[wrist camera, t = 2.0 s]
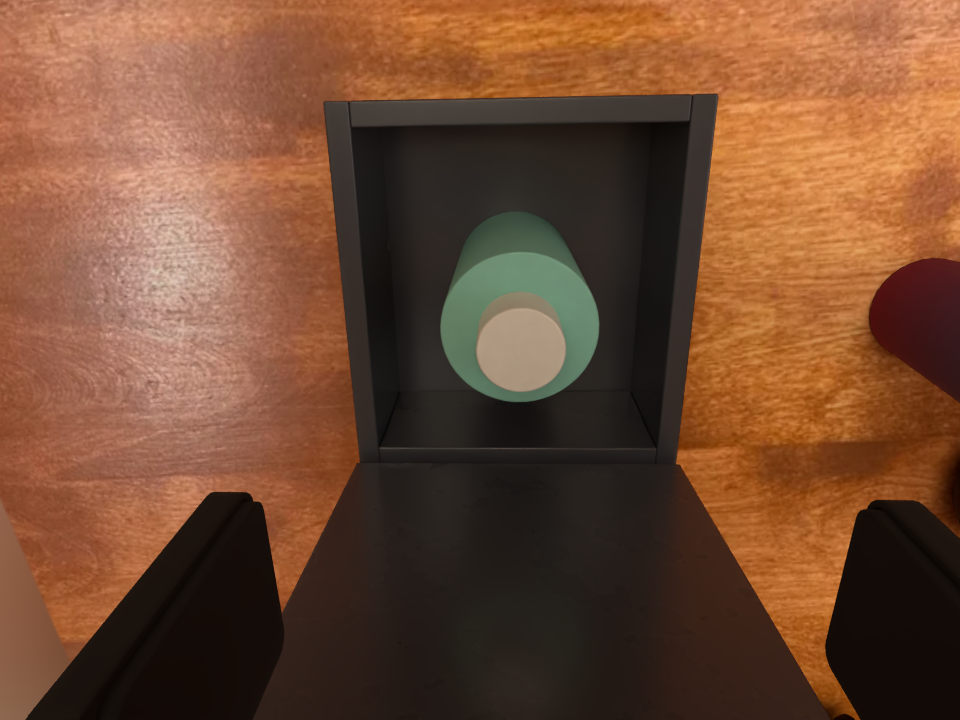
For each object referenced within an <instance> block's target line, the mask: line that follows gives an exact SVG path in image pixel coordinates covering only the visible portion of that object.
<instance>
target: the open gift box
mask: <svg viewBox="0 0 960 720" xmlns="http://www.w3.org/2000/svg"><path fill="white" fill-rule="evenodd" d="M323 104H324V114H325V123H326V133H327V143H328V153H329V163H330V173H331V182H332V192H333V202H334V212H335V222H336V232H337V241H338V251H339V261H340V271H341V281H342V291H343V300H344V310H345V320H346V330H347V340H348V350H349V359H350V369H351V379H352V389H353V399H354V409H355V418H356V428H357V438H358V448H359V458H360V463H472V464H676V459H677V451H678V442H679V433H680V425H681V416H682V407H683V399H684V390H685V381H686V373H687V364H688V355H689V347H690V338H691V329H692V321H693V312H694V303H695V295H696V286H697V277H698V269H699V260H700V251H701V243H702V234H703V225H704V217H705V208H706V199H707V191H708V182H709V173H710V165H711V156H712V147H713V139H714V130H715V121H716V113H717V104H718V94H670V95H619V96H568V97H517V98H466V99H414V100H363V101H325V102H324V103H323ZM506 212H526V213H530V214H534V215H536V216H539V217H541V218H543V219H544V220H546V221H548V222H549V223H550V224H552V225H553V226H554V227H555V228H556V229H557V230H558V231H559V233H560V234H561V235H562V237H563V239H564V240H565V242H566V244H567V246H568V248H569V250H570V252H571V254H572V256H573V258H574V260H575V262H576V264H577V266H578V268H579V270H580V272H581V274H582V276H583V277H584V279H585V281H586V283H587V285H588V287H589V289H590V291H591V293H592V295H593V298H594V300H595V303H596V306H597V310H598V316H599V336H598V341H597V345H596V348H595V351H594V354H593V356H592V358H591V360H590V362H589V364H588V365H587V367H586V368H585V370H584V371H583V372H582V373H581V374H580V376H579V377H578V378H577V379H576V380H575V381H573V382H572V383H571V384H570V385H569V386H567V387H566V388H564V389H563V390H561V391H559V392H557V393H556V394H554V395H551V396H549V397H546V398H543V399H539V400H535V401H528V402H510V401H503V400H499V399H495V398H492V397H489V396H487V395H485V394H483V393H481V392H479V391H477V390H475V389H474V388H472V387H471V386H469V385H468V384H467V383H466V382H465V381H464V380H463V379H462V378H461V377H460V376H459V375H458V374H457V373H456V372H455V370H454V369H453V367H452V366H451V364H450V362H449V360H448V358H447V356H446V354H445V351H444V348H443V345H442V340H441V330H440V324H441V315H442V310H443V306H444V303H445V300H446V297H447V294H448V291H449V288H450V285H451V282H452V279H453V276H454V273H455V270H456V267H457V264H458V260H459V257H460V254H461V251H462V249H463V246H464V244H465V242H466V240H467V238H468V237H469V235H470V234H471V233H472V232H473V230H474V229H475V228H476V227H477V226H479V225H480V224H481V223H482V222H484V221H485V220H487V219H489V218H491V217H493V216H495V215H498V214H501V213H506Z"/></svg>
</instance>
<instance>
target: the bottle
mask: <svg viewBox="0 0 960 720" xmlns="http://www.w3.org/2000/svg"><path fill="white" fill-rule="evenodd" d="M440 330H441V340H442V345H443V348H444V351H445V354H446V356H447V358H448V360H449V362H450V364H451V366H452V367H453V369H454V370H455V372H456V373H457V374H458V375H459V376H460V377H461V378H462V379H463V380H464V381H465V382H466V383H467V384H468V385H469V386H471V387H472V388H474V389H475V390H477V391H479V392H481V393H483V394H485V395H487V396H489V397H492V398H495V399H499V400H503V401H510V402H528V401H535V400H539V399H543V398H546V397H549V396H551V395H554V394H556V393H557V392H559V391H561V390H563V389H564V388H566V387H567V386H569V385H570V384H571V383H572V382H573V381H575V380H576V379H577V378H578V377H579V376H580V374H581V373H582V372H583V371H584V370H585V368H586V367H587V365H588V364H589V362H590V360H591V358H592V356H593V354H594V351H595V348H596V345H597V341H598V336H599V316H598V310H597V306H596V303H595V300H594V298H593V295H592V293H591V291H590V289H589V287H588V285H587V283H586V281H585V279H584V277H583V276H582V274H581V272H580V270H579V268H578V266H577V264H576V262H575V260H574V258H573V256H572V254H571V252H570V250H569V248H568V246H567V244H566V242H565V240H564V239H563V237H562V235H561V234H560V233H559V231H558V230H557V229H556V228H555V227H554V226H553V225H552V224H550V223H549V222H548V221H546V220H544V219H543V218H541V217H539V216H536V215H534V214H530V213H526V212H506V213H501V214H498V215H495V216H493V217H491V218H489V219H487V220H485V221H484V222H482V223H481V224H480V225H479V226H477V227H476V228H475V229H474V230H473V232H472V233H471V234H470V235H469V237H468V238H467V240H466V242H465V244H464V246H463V249H462V251H461V254H460V257H459V260H458V264H457V267H456V270H455V273H454V276H453V279H452V282H451V285H450V288H449V291H448V294H447V297H446V300H445V303H444V306H443V310H442V315H441V324H440Z"/></svg>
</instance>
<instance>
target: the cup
mask: <svg viewBox="0 0 960 720" xmlns="http://www.w3.org/2000/svg"><path fill="white" fill-rule="evenodd" d="M869 320H870V327H871V330H872V333H873V335H874V337H875V338H876V340H877V341H878V343H879V344H881V345H882V346H883V347H884V348H885V349H887V350H888V351H890V352H891V353H892V354H894V355H895V356H896V357H898V358H899V359H900V360H902V361H903V362H905V363H906V364H907V365H909V366H910V367H911V368H913V369H914V370H916V371H917V372H918V373H920V374H921V375H922V376H924V377H925V378H926V379H928V380H929V381H931V382H932V383H933V384H935V385H936V386H937V387H939V388H940V389H941V390H943V391H944V392H946V393H947V394H948V395H950V396H951V397H952V398H954V399H955V400H957V401H958V402H959V403H960V262H956V261H951V260H947V259H939V258H931V259H923V260H920V261H916V262H913V263H911V264H909V265H907V266H905V267H903V268H901V269H899V270H898V271H897V272H895V273H894V274H892V275H891V276H890V277H889V278H888V279H887V280H886V281H885V282H884V283H883V285H882V286H881V287H880V289H879V290H878V291H877V293H876V295H875V297H874V299H873V302H872V305H871V309H870V318H869Z"/></svg>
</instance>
